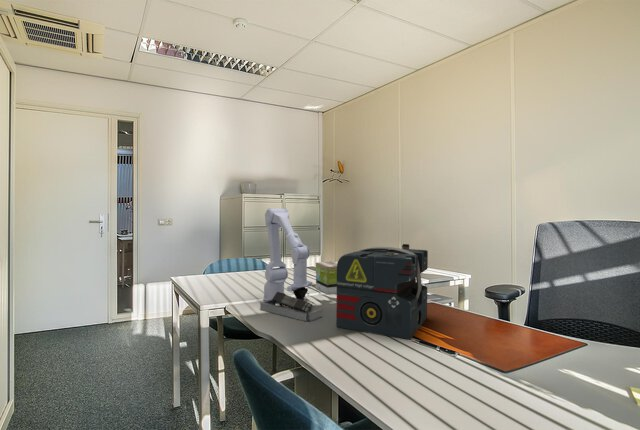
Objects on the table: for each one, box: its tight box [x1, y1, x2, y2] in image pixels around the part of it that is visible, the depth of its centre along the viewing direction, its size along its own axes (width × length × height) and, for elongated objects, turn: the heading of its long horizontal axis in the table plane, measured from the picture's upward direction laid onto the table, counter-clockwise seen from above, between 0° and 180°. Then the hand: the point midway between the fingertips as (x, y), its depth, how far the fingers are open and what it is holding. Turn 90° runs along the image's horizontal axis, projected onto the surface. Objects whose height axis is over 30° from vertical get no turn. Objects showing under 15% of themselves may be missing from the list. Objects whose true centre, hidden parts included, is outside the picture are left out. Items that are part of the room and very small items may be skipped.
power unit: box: [335, 243, 429, 341], centre depth 140 cm, size 28×28×30 cm
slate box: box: [259, 299, 323, 322], centre depth 153 cm, size 28×9×3 cm, turn 52°
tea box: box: [315, 261, 338, 295], centre depth 194 cm, size 15×10×15 cm, turn 25°
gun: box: [272, 292, 313, 313], centre depth 157 cm, size 4×20×10 cm
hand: (300, 304), depth 158 cm, fingers closed
